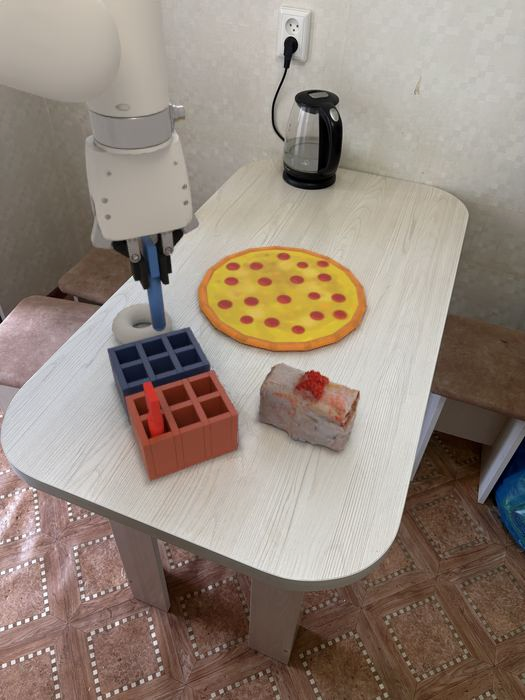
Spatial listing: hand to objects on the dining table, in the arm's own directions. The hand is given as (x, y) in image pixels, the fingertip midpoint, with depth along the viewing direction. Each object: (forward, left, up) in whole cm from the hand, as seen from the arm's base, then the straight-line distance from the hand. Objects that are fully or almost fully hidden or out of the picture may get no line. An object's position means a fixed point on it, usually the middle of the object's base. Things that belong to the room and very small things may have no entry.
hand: (153, 279), depth 61 cm
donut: (+1, +17, -23) cm, 28 cm away
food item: (+17, -12, -23) cm, 31 cm away
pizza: (+28, +17, -23) cm, 39 cm away
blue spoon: (0, 0, -8) cm, 8 cm away
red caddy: (0, -8, -23) cm, 24 cm away
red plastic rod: (-4, -10, -22) cm, 24 cm away
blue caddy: (0, +2, -23) cm, 23 cm away
